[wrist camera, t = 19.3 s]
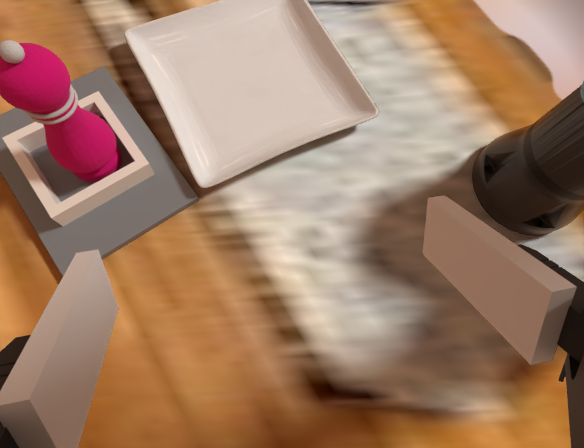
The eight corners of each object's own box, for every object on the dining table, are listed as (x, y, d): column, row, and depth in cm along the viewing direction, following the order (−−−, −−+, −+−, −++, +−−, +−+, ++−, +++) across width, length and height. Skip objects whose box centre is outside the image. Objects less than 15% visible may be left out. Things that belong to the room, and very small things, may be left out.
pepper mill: (54, 161, 50) (-65, 42, 31) (100, 126, 52) (15, -5, 33) (93, 197, 49) (-6, 97, 30) (138, 160, 51) (73, 45, 32)
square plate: (375, 127, 58) (384, 111, 54) (203, 201, 52) (199, 189, 48) (291, -5, 64) (293, -26, 61) (128, 47, 58) (119, 26, 54)
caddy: (106, 70, 56) (96, 50, 52) (199, 200, 51) (195, 187, 47) (-21, 131, 51) (-43, 113, 47) (68, 280, 46) (51, 273, 43)
